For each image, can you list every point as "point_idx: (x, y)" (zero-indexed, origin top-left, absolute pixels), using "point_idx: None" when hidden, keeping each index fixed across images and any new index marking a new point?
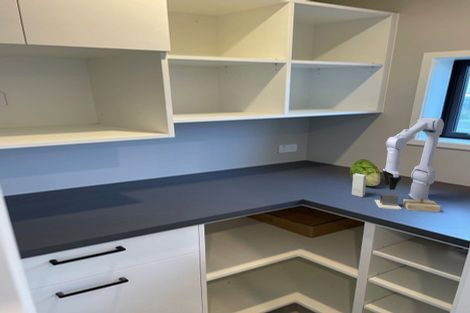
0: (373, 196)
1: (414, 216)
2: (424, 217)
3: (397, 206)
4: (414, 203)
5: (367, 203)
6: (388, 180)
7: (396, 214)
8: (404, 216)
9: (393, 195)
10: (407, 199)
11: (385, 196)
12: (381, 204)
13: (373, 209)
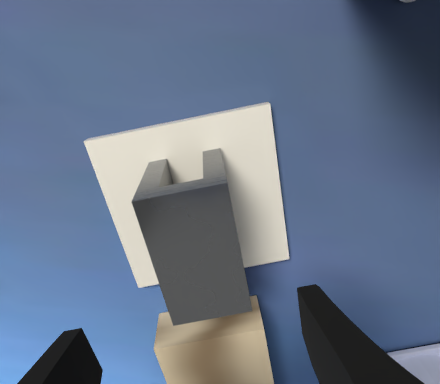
0: (396, 97)
1: (56, 336)
2: None
3: None
4: (191, 378)
5: (157, 28)
6: (328, 381)
7: (18, 249)
8: (14, 290)
9: (194, 294)
10: (266, 349)
11: (140, 222)
12: (157, 159)
13: (13, 84)
